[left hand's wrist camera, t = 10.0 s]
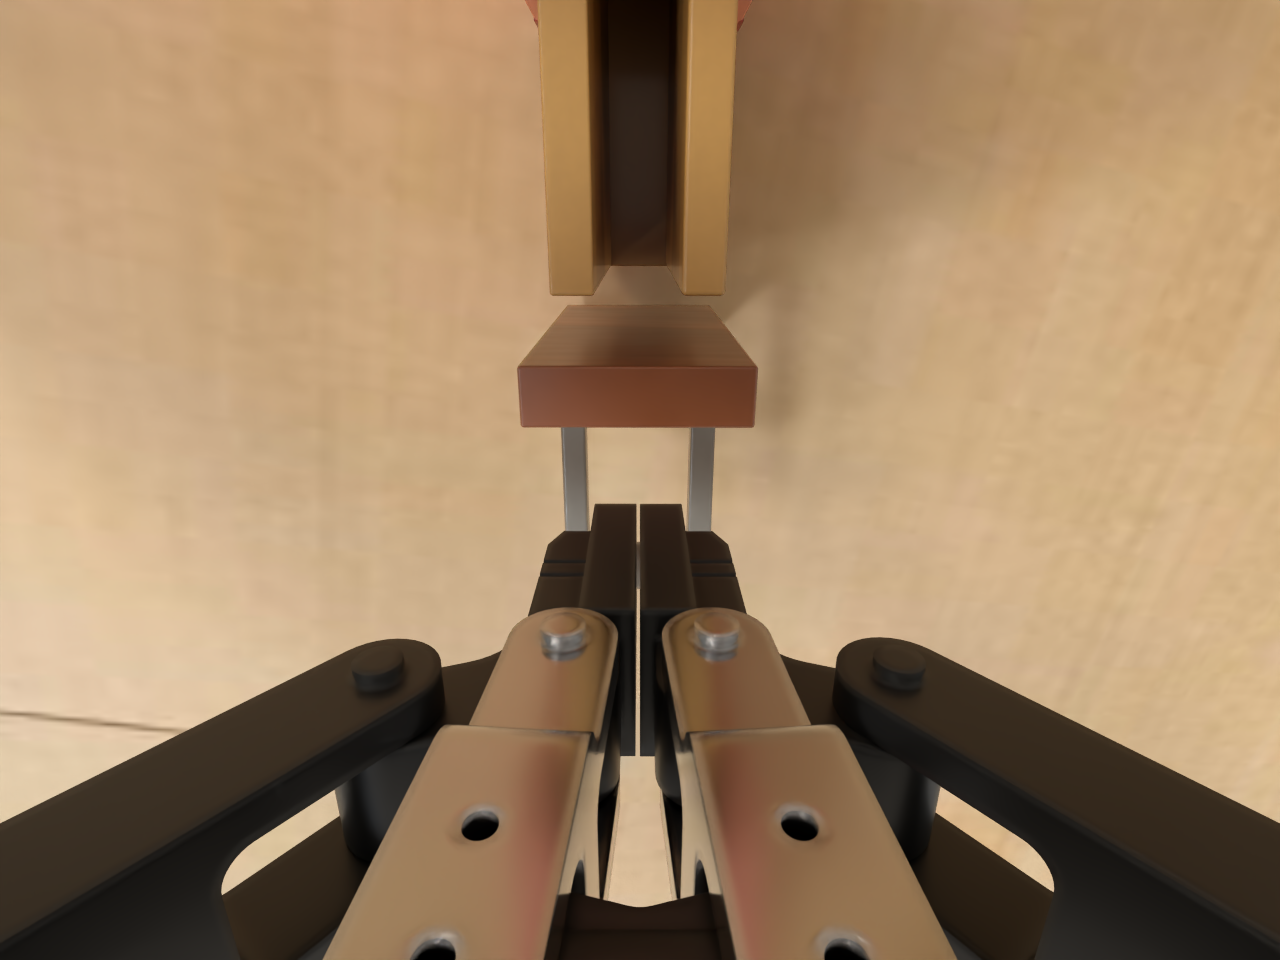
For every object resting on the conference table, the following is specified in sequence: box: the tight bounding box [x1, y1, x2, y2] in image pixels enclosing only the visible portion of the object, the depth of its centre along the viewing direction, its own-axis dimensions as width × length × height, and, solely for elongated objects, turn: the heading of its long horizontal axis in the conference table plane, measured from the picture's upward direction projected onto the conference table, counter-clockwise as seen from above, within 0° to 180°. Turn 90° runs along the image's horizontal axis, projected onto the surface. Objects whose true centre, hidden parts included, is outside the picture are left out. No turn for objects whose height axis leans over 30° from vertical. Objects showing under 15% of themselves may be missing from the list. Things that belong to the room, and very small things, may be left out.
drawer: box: [517, 0, 758, 589], centre depth 16 cm, size 22×4×10 cm, turn 0°
